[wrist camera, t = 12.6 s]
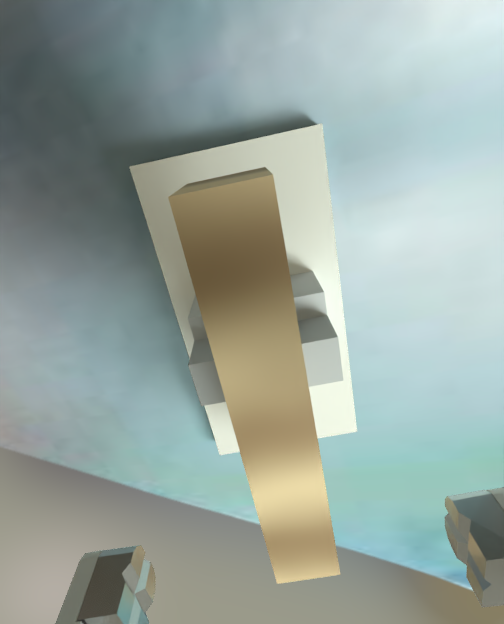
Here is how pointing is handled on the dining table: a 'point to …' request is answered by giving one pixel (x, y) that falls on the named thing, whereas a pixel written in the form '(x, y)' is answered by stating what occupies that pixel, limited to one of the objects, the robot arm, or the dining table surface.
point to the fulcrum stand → (301, 260)
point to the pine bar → (260, 361)
